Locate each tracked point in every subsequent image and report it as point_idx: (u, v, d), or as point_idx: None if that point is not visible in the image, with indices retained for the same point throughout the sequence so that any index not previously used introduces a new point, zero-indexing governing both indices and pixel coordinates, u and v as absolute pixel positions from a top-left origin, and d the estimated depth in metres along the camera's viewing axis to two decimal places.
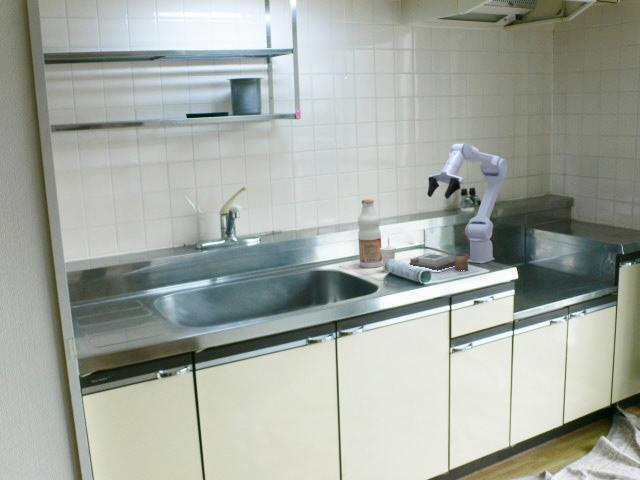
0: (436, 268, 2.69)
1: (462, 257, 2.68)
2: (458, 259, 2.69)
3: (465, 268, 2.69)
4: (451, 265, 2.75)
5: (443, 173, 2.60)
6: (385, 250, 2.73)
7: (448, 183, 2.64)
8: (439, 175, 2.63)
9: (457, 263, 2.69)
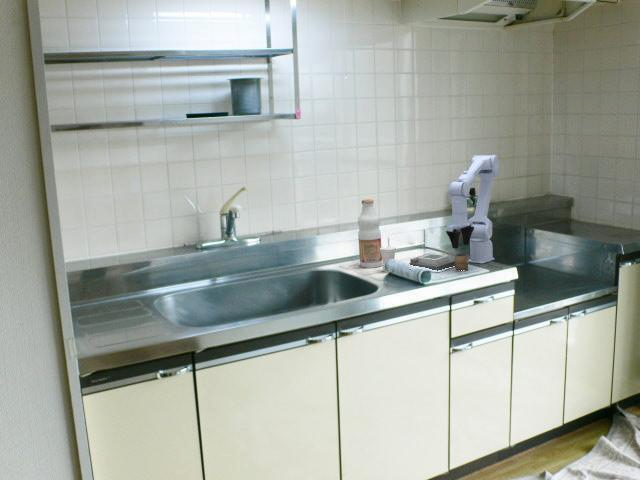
0: (436, 268, 2.69)
1: (462, 257, 2.68)
2: (458, 259, 2.69)
3: (465, 268, 2.69)
4: (451, 265, 2.75)
5: (467, 225, 2.66)
6: (385, 250, 2.73)
7: None
8: (461, 226, 2.65)
9: (457, 263, 2.69)
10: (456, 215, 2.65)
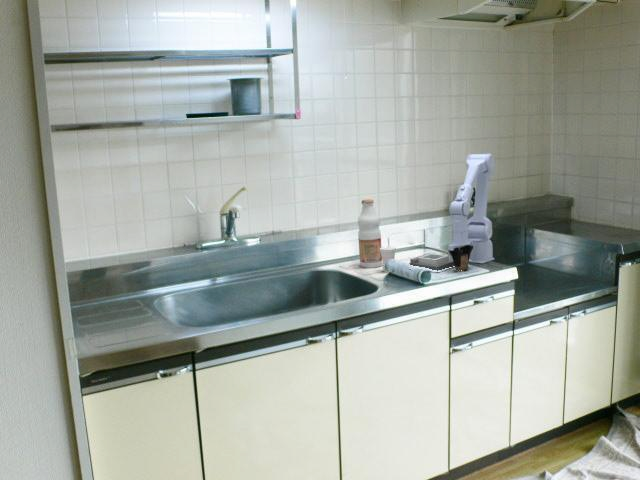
0: (436, 268, 2.69)
1: (462, 257, 2.68)
2: None
3: (465, 268, 2.69)
4: (451, 265, 2.75)
5: (467, 244, 2.67)
6: (385, 250, 2.73)
7: None
8: (461, 245, 2.67)
9: None
10: (457, 234, 2.67)
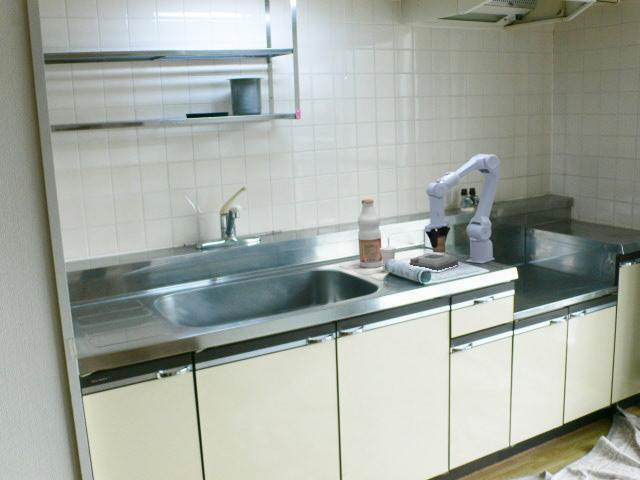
0: (436, 268, 2.69)
1: (440, 238, 2.72)
2: None
3: (442, 249, 2.73)
4: (451, 265, 2.75)
5: (444, 225, 2.72)
6: (385, 250, 2.73)
7: None
8: (438, 226, 2.71)
9: None
10: (433, 215, 2.71)
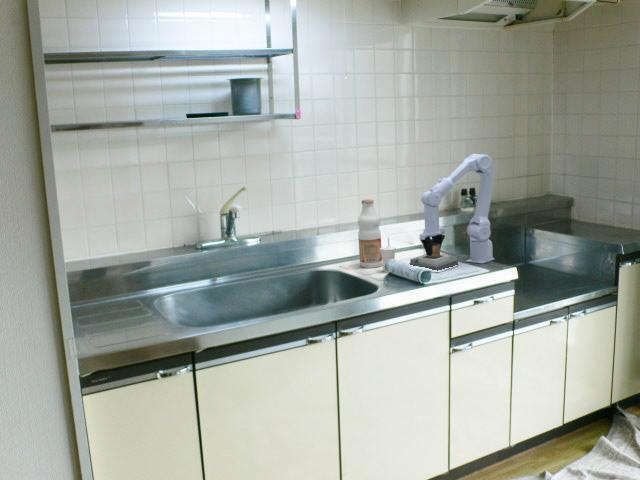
0: (436, 268, 2.69)
1: (434, 246, 2.74)
2: None
3: (437, 257, 2.76)
4: (451, 265, 2.75)
5: (439, 234, 2.74)
6: (385, 250, 2.73)
7: None
8: (433, 234, 2.73)
9: None
10: (428, 224, 2.73)
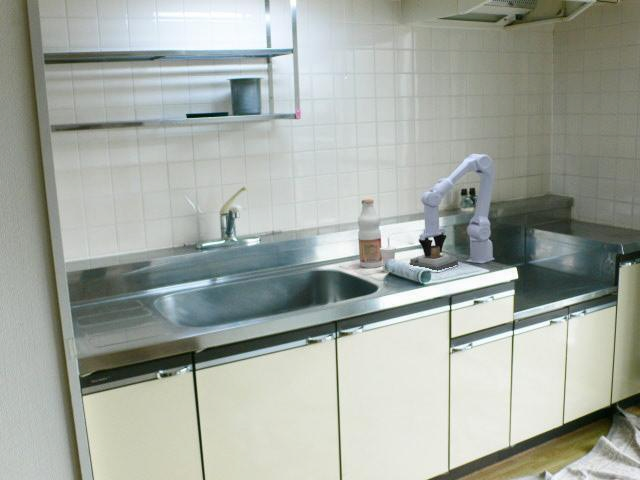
0: (436, 268, 2.69)
1: (434, 249, 2.75)
2: (431, 251, 2.75)
3: None
4: (451, 265, 2.75)
5: None
6: (385, 250, 2.73)
7: None
8: None
9: None
10: (428, 224, 2.73)
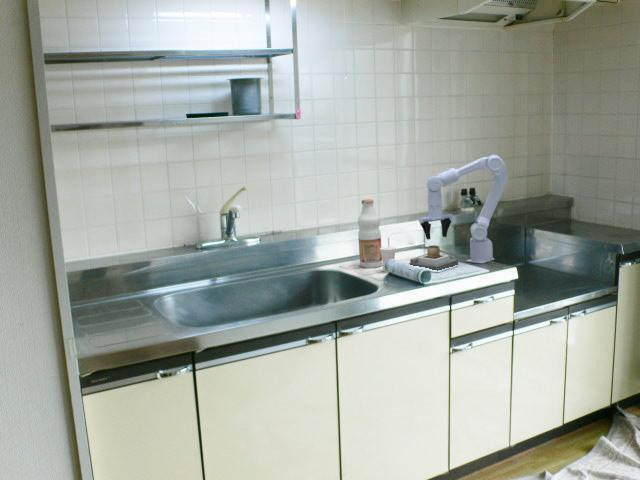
0: (436, 268, 2.69)
1: (434, 249, 2.75)
2: (431, 251, 2.75)
3: None
4: (451, 265, 2.75)
5: (439, 218, 2.80)
6: (385, 250, 2.73)
7: None
8: None
9: (429, 255, 2.76)
10: (429, 208, 2.81)
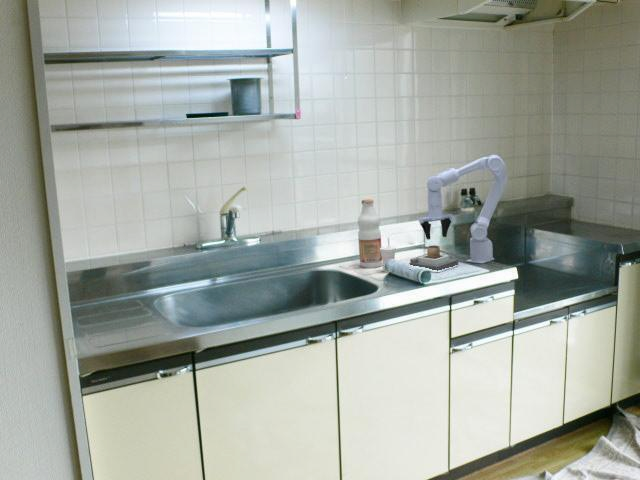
0: (436, 268, 2.69)
1: (434, 249, 2.75)
2: (431, 251, 2.75)
3: None
4: (451, 265, 2.75)
5: (439, 218, 2.80)
6: (385, 250, 2.73)
7: None
8: None
9: (429, 255, 2.76)
10: (429, 208, 2.81)
